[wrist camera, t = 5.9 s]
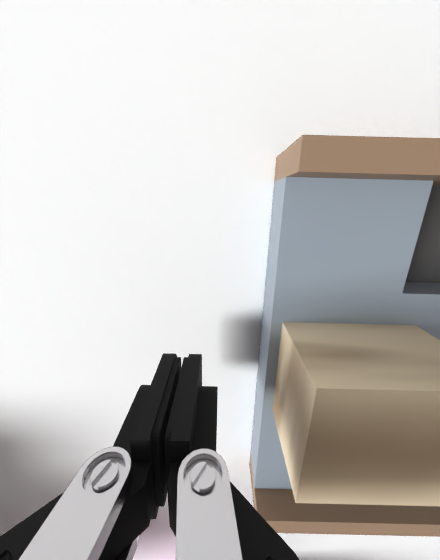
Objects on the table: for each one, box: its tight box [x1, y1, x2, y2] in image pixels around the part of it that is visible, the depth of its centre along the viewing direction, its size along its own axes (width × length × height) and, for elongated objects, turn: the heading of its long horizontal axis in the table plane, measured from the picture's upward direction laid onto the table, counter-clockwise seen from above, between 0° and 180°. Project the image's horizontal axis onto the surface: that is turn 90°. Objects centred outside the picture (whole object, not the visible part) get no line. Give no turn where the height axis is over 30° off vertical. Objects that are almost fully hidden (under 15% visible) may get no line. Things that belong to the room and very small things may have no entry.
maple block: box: [272, 322, 440, 506], centre depth 9 cm, size 5×6×4 cm
